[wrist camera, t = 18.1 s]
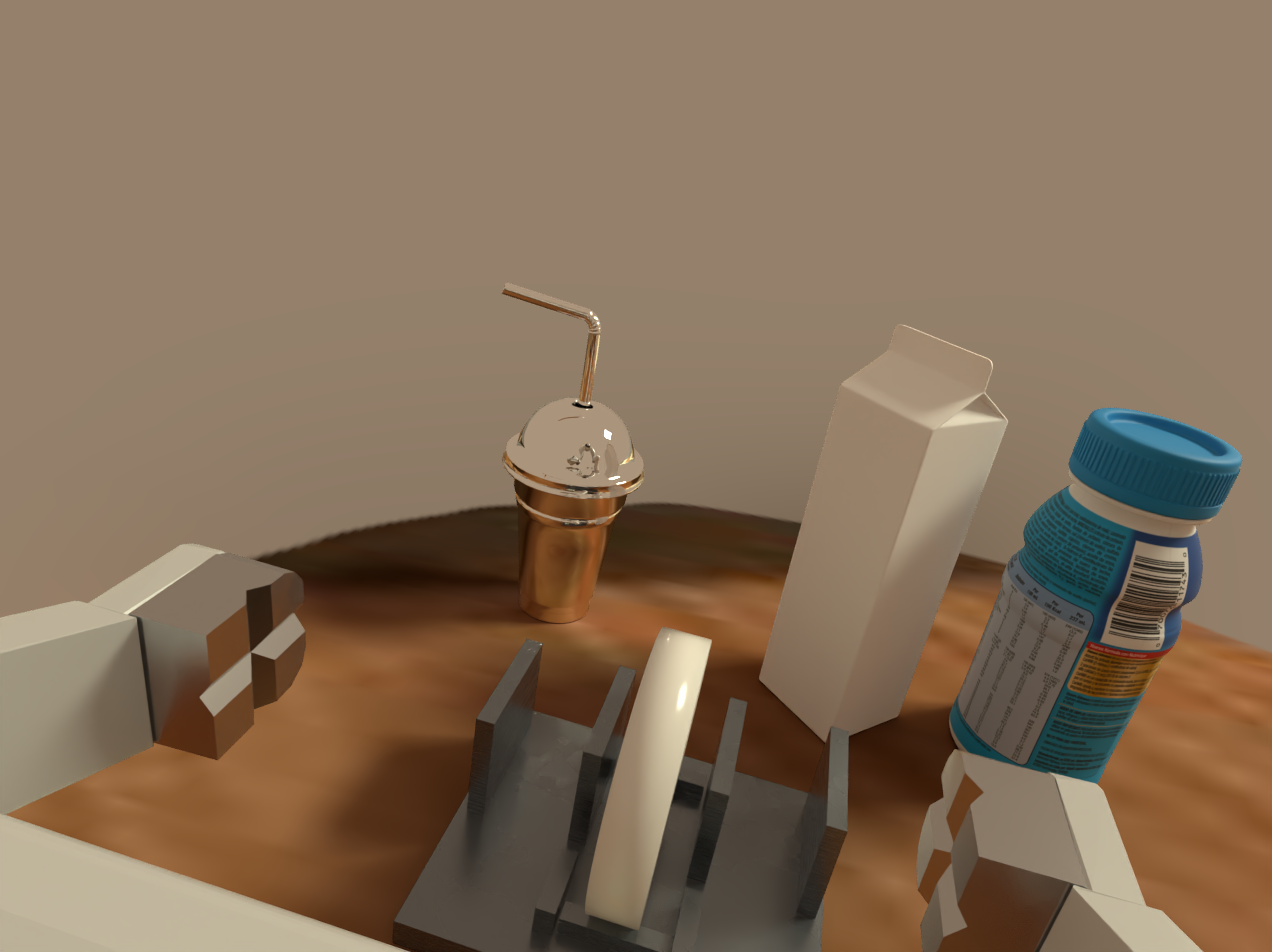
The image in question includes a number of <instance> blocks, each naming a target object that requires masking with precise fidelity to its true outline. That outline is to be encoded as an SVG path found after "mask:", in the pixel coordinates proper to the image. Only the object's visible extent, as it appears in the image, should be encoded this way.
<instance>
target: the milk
mask: <svg viewBox="0 0 1272 952" xmlns="http://www.w3.org/2000/svg"><path fill="white" fill-rule="evenodd" d="M992 369H993V364H992V361H991V360H990V359H988V358H985V357H983V356H980V355H978V354H975V353H973V352H970V351H968V350H965V349H963V348H960V347H958V346H955V345H953V344H950V343H948V342H945V341H943V340H941V339H938V338H935V337H933V336H931V335H928V334H926V333H923V332H921V331H918V330H916V329H913V328H911V327H908V326H906V325H903V324H899V325H897V326H896V328H895V330H894V332H893V336H892V339H891V342H890V345H889V348H888V351H887V352H885V353H884V354H882V355H881V356H880V357H878V358H877V359H875V360H874V361H872V362H871V363H870V364H868V365H867V366H865V367H864V368H863V369H861V370H860V371H858V372H857V373H855V374H854V375H853V376H851V377H850V378H848V379H847V380H845V381H844V382H843V383H842V384H841V385H840V388H839V391H838V395H837V398H836V402H835V406H834V409H833V413H832V417H831V420H830V424H829V427H828V431H827V434H826V438H825V442H824V446H823V449H822V453H821V456H820V460H819V463H818V467H817V471H816V474H815V478H814V482H813V485H812V488H811V492H810V496H809V499H808V503H807V507H806V510H805V514H804V517H803V521H802V524H801V528H800V532H799V535H798V539H797V542H796V546H795V550H794V553H793V557H792V560H791V564H790V567H789V571H788V575H787V578H786V582H785V585H784V589H783V593H782V596H781V600H780V603H779V607H778V611H777V614H776V618H775V621H774V625H773V629H772V632H771V636H770V639H769V643H768V647H767V650H766V654H765V657H764V661H763V665H762V668H761V672H760V676H759V680H760V681H761V682H762V683H763V684H764V685H765V686H766V687H767V688H768V689H769V690H770V691H771V692H773V693H774V694H775V695H776V696H777V697H778V698H779V699H780V700H781V701H782V702H783V703H784V704H785V705H786V706H787V707H788V708H789V709H790V710H791V711H792V712H793V713H794V714H796V715H797V716H798V717H799V718H800V719H801V720H802V721H803V722H804V723H805V724H806V725H807V726H808V727H809V728H810V729H811V730H812V731H813V732H814V733H815V734H816V735H817V736H818V737H820V738H821V739H822V740H823V741H824V742H826V739H827V736H828V733H829V730H830V727H831V726H833V727H836V728H840V729H843V730H847V731H849V736H850V735H853V734H855V733H858V732H860V731H863V730H865V729H868V728H870V727H873V726H875V725H878V724H880V723H883V722H886V721H888V720H891V719H893V718H896V717H897V716H898V715H899V713H900V710H901V707H902V705H903V702H904V699H905V697H906V694H907V691H908V689H909V686H910V683H911V681H912V678H913V675H914V673H915V670H916V667H917V665H918V662H919V659H920V657H921V654H922V651H923V649H924V646H925V643H926V640H927V638H928V635H929V632H930V630H931V627H932V624H933V622H934V619H935V616H936V614H937V611H938V608H939V606H940V603H941V600H942V598H943V595H944V592H945V590H946V587H947V584H948V582H949V579H950V576H951V574H952V571H953V568H954V566H955V563H956V560H957V557H958V555H959V552H960V549H961V547H962V544H963V541H964V539H965V536H966V533H967V531H968V528H969V525H970V523H971V520H972V517H973V515H974V512H975V509H976V506H977V504H978V501H979V498H980V496H981V493H982V491H983V488H984V485H985V483H986V480H987V477H988V474H989V472H990V469H991V466H992V464H993V461H994V458H995V456H996V453H997V450H998V447H999V445H1000V442H1001V440H1002V437H1003V434H1004V431H1005V429H1006V426H1007V423H1008V420H1007V419H1006V418H1005V416H1004V415H1003V414H1002V413H1001V412H1000V410H999V409H998V408H997V407H996V405H995V404H994V403H993V402H992V401H991V399H990V398H989V397H988V396H987V395H986V393H985V390H986V387H987V384H988V381H989V378H990V376H991V373H992Z"/></svg>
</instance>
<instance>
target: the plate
mask: <svg viewBox="0 0 1272 952" xmlns="http://www.w3.org/2000/svg"><path fill="white" fill-rule="evenodd" d="M711 642H712V640H710V639H707V638H703V637H699V636H696V635H692V634H688V633H685V632H681V631H677V630H674V629H670V628H666V627H663V628H662V629H661V630H660V632H659V634H658V636H657V639H656V641H655V644H654V646H653V649H652V651H651V654H650V657H649V660H648V663H647V666H646V668H645V671H644V674H643V677H642V681H641V684H640V687H639V690H638V693H637V696H636V700H635V703H634V706H633V709H632V713H631V716H630V719H629V723H628V726H627V730H626V733H625V737H624V740H623V744H622V747H621V751H620V754H619V758H618V762H617V765H616V769H615V773H614V776H613V780H612V784H611V788H610V792H609V796H608V799H607V803H606V807H605V811H604V815H603V819H602V824H601V828H600V832H599V836H598V840H597V845H596V849H595V854H594V858H593V863H592V868H591V873H590V878H589V883H588V889H587V895H586V902H585V913H586V914H588V915H591V916H594V917H597V918H601V919H604V920H607V921H610V922H613V923H616V924H619V925H622V926H625V927H628V928H631V929H634V930H637V931H639V929H640V925H641V922H642V918H643V914H644V911H645V907H646V903H647V899H648V895H649V892H650V888H651V884H652V880H653V876H654V872H655V868H656V865H657V861H658V857H659V853H660V849H661V845H662V841H663V837H664V833H665V829H666V825H667V822H668V818H669V814H670V810H671V806H672V802H673V798H674V794H675V790H676V786H677V782H678V778H679V774H680V770H681V766H682V762H683V758H684V754H685V750H686V746H687V742H688V738H689V734H690V730H691V726H692V722H693V718H694V714H695V709H696V705H697V701H698V697H699V693H700V689H701V685H702V681H703V677H704V672H705V668H706V664H707V660H708V655H709V651H710V647H711Z"/></svg>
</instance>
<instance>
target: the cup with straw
mask: <svg viewBox="0 0 1272 952" xmlns="http://www.w3.org/2000/svg"><path fill="white" fill-rule="evenodd" d="M502 294H503V295H507V296H510V297H513V298H516V299H519V300H522V301H525V302H528V303H531V304H535V305H538V306H541V307H544V308H547V309H550V310H553V311H556V312H560V313H562V314H566V315H569V316H572V317H575V318H578V319H581V320H584V321H585V322H586V323H587V324H588V327H589V331H588V339H587V346H586V353H585V360H584V368H583V374H582V381H581V389H580V395H579V397H570V398H563V399H559V400H555V401H553V402H551V403H548V404H546V405H544V406H542V407H541V408H540V409H538V410H537V411H536V412H535V413H534V414H533V415H532V416H531V418H530V419H529V420H528V421H527V423H526V424H525V426H524V427H523V429H522V431H521V432H520V433H518V434H516V435H515V436H513V437H512V438H511V439H510V440H509V441H508V443H507V444H506V448H505V452H504V453H503V457H502V461H503V465H504V468H505V469H506V471H507V472H508V473H509V474H510V475H511V476H512V477H513V478H514V489H515V492H516V502H517V505H518V562H519V588H520V590H521V594H520V596H519V603H520V606H521V608H522V609H523V610H524V611H525V612H526V613H527V614H529V615H530V616H532V617H534V618H536V619H539V620H542V621H546V622H551V623H567V622H572V621H576V620H578V619H580V618H582V617H583V616H585V615H586V613H587V612H588V610H589V601H590V599H591V598H592V596H593V594H594V591H595V587H596V584H597V581H598V577H599V574H600V571H601V567H602V564H603V561H604V557H605V554H606V551H607V547H608V544H609V541H610V537H611V534H612V531H613V527H614V524H615V521H616V519H617V518H618V517H619V515H620V512H621V509H622V506H623V505H624V504H625V501H626V498H627V494H629V493H631V492H633V491H635V490H636V489H638V488H639V487H640V485H641V484H642V483H643V480H644V471H643V469H644V462H643V460H642V458H641V456H640V455H639V453H638V452H637V451H636V450H634V447H633V443H632V439H631V436H630V433H629V431H628V428H627V426H626V425H625V423H624V422H623V421H622V419H621V418H620V417H619V416H618V415H617V414H616V413H615V412H614V411H612V410H611V409H610V408H608V407H607V406H605V405H603V404H601V403H599V402H597V401H594V400H591V397H592V390H593V383H594V376H595V370H596V363H597V356H598V350H599V343H600V336H601V324H600V321H599V319H598V317H597V316H596V314H595V313H594V312H593V311H592V310H589V309H587V308H584V307H581V306H578V305H575V304H572V303H569V302H566V301H563V300H559V299H557V298H554V297H551V296H548V295H544V294H541V293H538V292H535V291H532V290H529V289H526V288H523V287H520V286H516V285H514V284H511V283H508V282H506V284H505V286H504V289H503V292H502Z"/></svg>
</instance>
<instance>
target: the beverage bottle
mask: <svg viewBox="0 0 1272 952" xmlns="http://www.w3.org/2000/svg"><path fill="white" fill-rule="evenodd" d="M1241 463H1242V457H1241V455H1240V453H1239V452H1238V451H1237V450H1236V449H1235V448H1234V447H1232V446H1231V445H1230V444H1228V443H1226V442H1225V441H1223V440H1221V439H1219V438H1217V437H1216V436H1213V435H1211V434H1209V433H1207V432H1205V431H1202V430H1200V429H1197V428H1195V427H1192V426H1190V425H1187V424H1184V423H1181V422H1178V421H1175V420H1171V419H1168V418H1165V417H1161V416H1158V415H1154V414H1150V413H1145V412H1140V411H1135V410H1129V409H1119V408H1102V409H1097V410H1095V411H1093V412H1092V413H1091V414H1090V416H1089V417H1088V419H1087V420H1086V421H1085V423H1084V425H1083V428H1082V430H1081V432H1080V435H1079V437H1078V440H1077V442H1076V444H1075V447H1074V449H1073V453H1072V455H1071V457H1070V461H1069V468H1068V473H1069V476H1070V478H1071V479H1072V480H1073V481H1074V482H1075V483H1073V484H1071V485H1069V486H1067V487H1066V488H1064V489H1063V490H1061V491H1059V492H1058V493H1056V494H1055V495H1054V496H1052V497H1051V498H1050V499H1048V500H1047V501H1046V502H1045V503H1044V504H1042V505H1041V506H1040V507H1039V508H1038V509H1037V510H1036V511H1035V513H1034V514H1033V515H1032V516H1031V517H1030V519H1029V520H1028V522H1027V523H1026V525H1025V528H1024V541H1025V546H1024V547H1023V548H1022V549H1020V550H1019V551H1018V552H1017V553H1015V554H1014V555H1013V556H1012V558H1011V559H1010V561H1009V562H1008V564H1007V566H1006V568H1005V570H1004V573H1003V576H1002V580H1001V590H1000V593H999V595H998V598H997V600H996V603H995V605H994V608H993V611H992V613H991V616H990V618H989V621H988V623H987V626H986V628H985V631H984V633H983V636H982V638H981V641H980V644H979V646H978V649H977V651H976V654H975V656H974V659H973V661H972V664H971V666H970V669H969V671H968V673H967V676H966V678H965V681H964V683H963V685H962V687H961V690H960V692H959V694H958V696H957V698H956V700H955V702H954V704H953V707H952V709H951V712H950V716H949V726H950V731H951V734H952V737H953V739H954V741H955V743H956V745H957V746H958V748H959V749H960V751H964V752H968V753H972V754H975V755H979V756H983V757H987V758H991V759H994V760H998V761H1002V762H1006V763H1010V764H1013V765H1017V766H1021V767H1025V768H1029V769H1032V770H1036V771H1040V772H1044V773H1048V772H1050V773H1054V774H1059V775H1063V776H1067V777H1071V778H1075V779H1079V780H1084V781H1088V782H1092V783H1096V784H1098V782H1099V780H1100V778H1101V776H1102V774H1103V771H1104V769H1105V765H1106V764H1107V762H1108V760H1109V759H1110V757H1111V755H1112V753H1113V751H1114V749H1115V747H1116V745H1117V743H1118V741H1119V739H1120V738H1121V736H1122V734H1123V732H1124V730H1125V728H1126V726H1127V724H1128V723H1129V721H1130V719H1131V717H1132V715H1133V713H1134V711H1135V710H1136V708H1137V706H1138V704H1139V702H1140V700H1141V698H1142V697H1143V695H1144V693H1145V691H1146V689H1147V687H1148V685H1149V684H1150V682H1151V680H1152V678H1153V676H1154V674H1155V672H1156V671H1157V669H1158V667H1159V665H1160V663H1161V661H1162V659H1163V657H1164V656H1165V655H1166V654H1167V653H1168V652H1169V651H1170V650H1171V649H1172V647H1173V646H1174V644H1175V642H1176V640H1177V638H1178V636H1179V633H1180V630H1181V626H1182V620H1181V612H1180V609H1181V607H1182V606H1183V605H1185V604H1187V603H1189V602H1190V601H1192V600H1193V599H1194V598H1195V597H1196V595H1197V594H1198V592H1199V589H1200V585H1201V578H1202V566H1203V565H1202V553H1201V547H1200V542H1199V538H1198V534H1197V531H1196V527H1195V525H1201V524H1205V523H1208V522H1209V521H1211V520H1212V518H1213V517H1214V516H1215V515H1216V514H1217V513H1218V512H1219V510H1220V508H1221V507H1222V505H1223V502H1224V501H1225V499H1226V498H1227V496H1228V494H1229V492H1230V490H1231V488H1232V486H1233V484H1234V482H1235V480H1236V478H1237V476H1238V474H1239V472H1240V466H1241Z"/></svg>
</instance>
